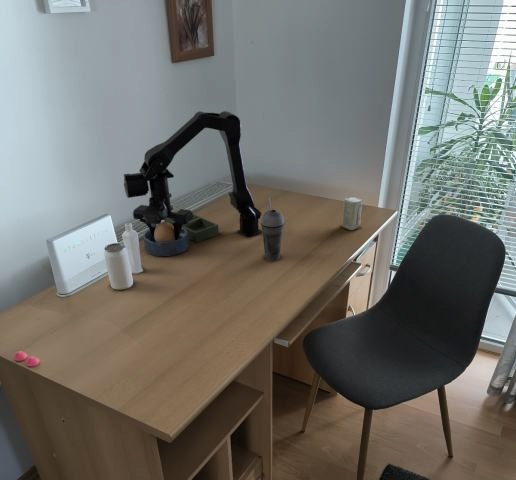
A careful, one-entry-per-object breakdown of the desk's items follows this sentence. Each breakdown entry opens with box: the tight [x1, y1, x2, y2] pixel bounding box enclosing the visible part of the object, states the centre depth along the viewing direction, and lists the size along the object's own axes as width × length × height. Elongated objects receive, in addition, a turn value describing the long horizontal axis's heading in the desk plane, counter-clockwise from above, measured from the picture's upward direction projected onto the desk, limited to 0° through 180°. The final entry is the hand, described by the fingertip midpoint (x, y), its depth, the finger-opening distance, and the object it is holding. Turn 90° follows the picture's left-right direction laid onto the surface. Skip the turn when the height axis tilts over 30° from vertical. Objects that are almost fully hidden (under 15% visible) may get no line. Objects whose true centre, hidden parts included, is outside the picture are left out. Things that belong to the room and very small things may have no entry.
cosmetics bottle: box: [341, 196, 363, 231], centre depth 175 cm, size 5×4×10 cm
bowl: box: [142, 225, 189, 257], centre depth 165 cm, size 14×14×5 cm
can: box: [103, 242, 134, 291], centre depth 142 cm, size 6×6×12 cm
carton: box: [163, 213, 220, 243], centre depth 176 cm, size 19×10×4 cm, turn 43°
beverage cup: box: [260, 195, 285, 262], centre depth 153 cm, size 7×7×20 cm
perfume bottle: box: [121, 222, 144, 274], centre depth 149 cm, size 5×4×15 cm
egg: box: [154, 221, 175, 242], centre depth 163 cm, size 7×7×8 cm
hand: (166, 239), depth 164 cm, fingers closed on egg, 7 cm apart
